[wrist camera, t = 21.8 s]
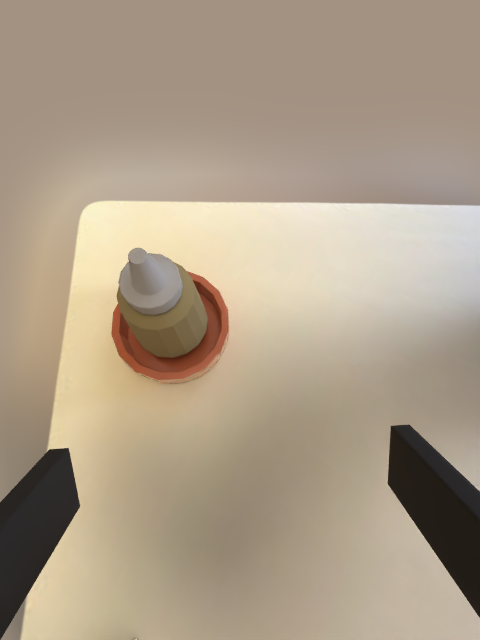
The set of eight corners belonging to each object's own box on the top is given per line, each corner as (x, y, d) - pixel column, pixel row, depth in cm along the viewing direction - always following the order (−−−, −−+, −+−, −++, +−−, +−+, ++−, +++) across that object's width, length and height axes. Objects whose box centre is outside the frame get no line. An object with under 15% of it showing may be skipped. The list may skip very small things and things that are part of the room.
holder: (203, 270, 40) (201, 254, 36) (244, 356, 37) (247, 349, 33) (109, 306, 38) (96, 294, 34) (144, 401, 35) (135, 400, 31)
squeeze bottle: (126, 334, 36) (43, 261, 19) (173, 286, 38) (136, 183, 21) (177, 377, 35) (138, 342, 18) (222, 326, 37) (225, 250, 20)
